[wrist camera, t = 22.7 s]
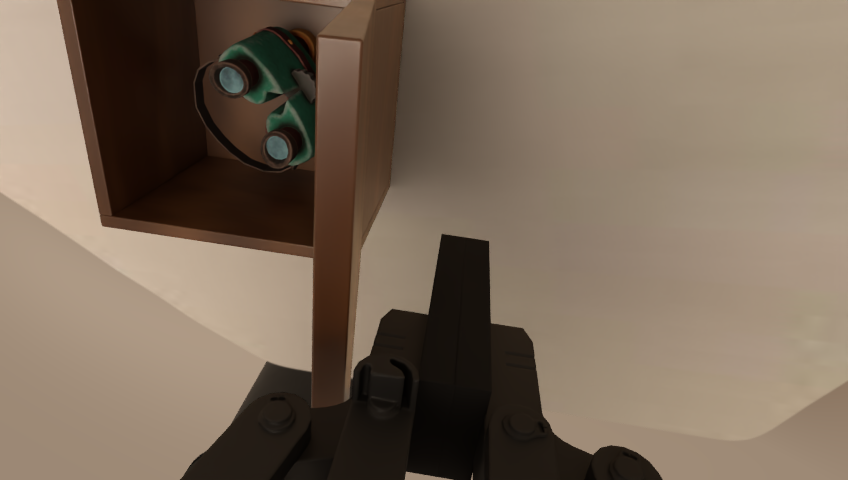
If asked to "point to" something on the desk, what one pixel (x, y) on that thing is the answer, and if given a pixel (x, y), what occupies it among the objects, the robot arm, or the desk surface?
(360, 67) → the lid
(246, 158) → the binoculars
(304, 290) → the desk surface
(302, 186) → the chest
